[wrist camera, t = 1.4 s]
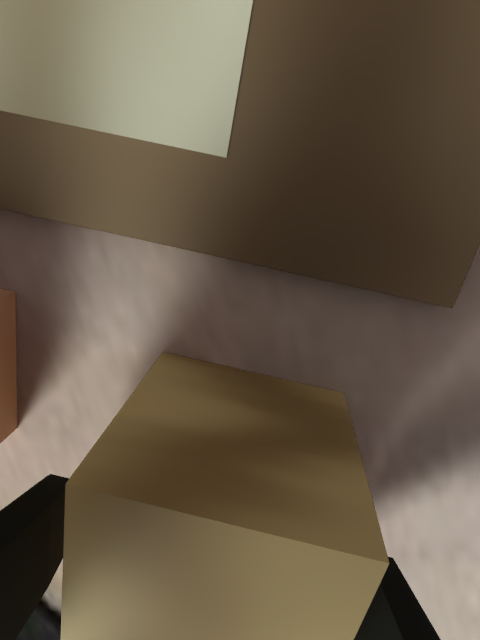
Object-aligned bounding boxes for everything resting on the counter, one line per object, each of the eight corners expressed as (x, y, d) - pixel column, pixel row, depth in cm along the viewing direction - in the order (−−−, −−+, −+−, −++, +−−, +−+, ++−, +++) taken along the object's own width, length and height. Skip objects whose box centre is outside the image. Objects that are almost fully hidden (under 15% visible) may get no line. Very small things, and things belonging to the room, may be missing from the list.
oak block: (343, 390, 10) (389, 563, 6) (284, 568, 13) (282, 791, 8) (164, 350, 11) (65, 484, 6) (140, 532, 13) (58, 728, 8)
